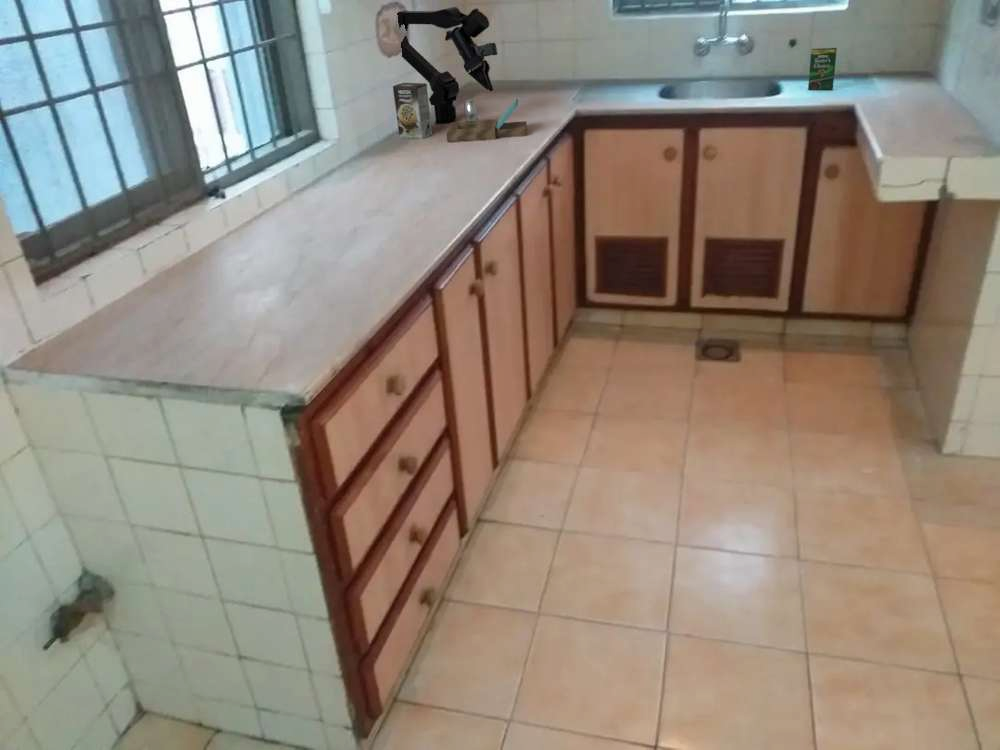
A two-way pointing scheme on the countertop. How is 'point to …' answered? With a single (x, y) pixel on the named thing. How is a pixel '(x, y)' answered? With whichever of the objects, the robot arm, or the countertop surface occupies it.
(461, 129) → the socket block
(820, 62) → the coffee box
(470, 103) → the peg
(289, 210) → the countertop surface
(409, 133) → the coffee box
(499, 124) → the latch flap
